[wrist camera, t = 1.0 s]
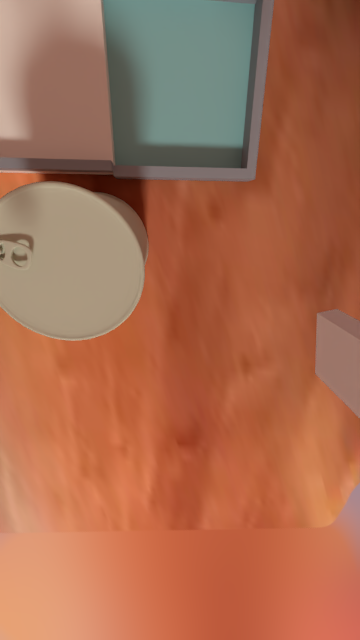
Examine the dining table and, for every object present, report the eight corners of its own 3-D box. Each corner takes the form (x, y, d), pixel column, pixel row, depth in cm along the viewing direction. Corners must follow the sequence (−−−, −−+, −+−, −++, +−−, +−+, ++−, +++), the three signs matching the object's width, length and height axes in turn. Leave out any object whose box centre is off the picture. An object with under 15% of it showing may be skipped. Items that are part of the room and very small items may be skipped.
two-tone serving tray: (-65, 175, 22) (-96, 170, 20) (-133, -44, 17) (-186, -91, 15) (247, 181, 25) (259, 178, 22) (265, -8, 20) (283, -43, 17)
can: (59, 175, 23) (-25, 147, 12) (160, 212, 25) (166, 217, 14) (43, 274, 26) (-35, 323, 15) (134, 300, 28) (122, 360, 17)
